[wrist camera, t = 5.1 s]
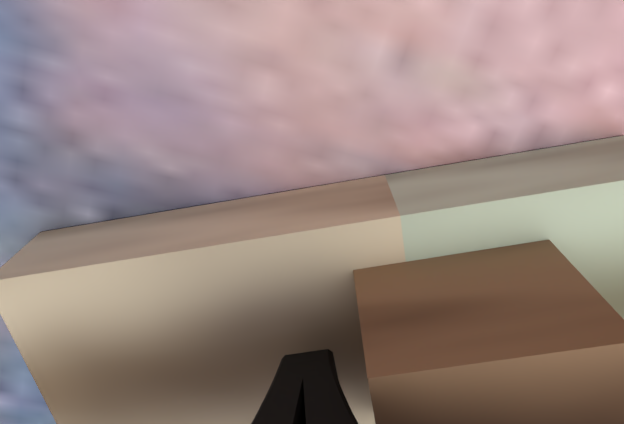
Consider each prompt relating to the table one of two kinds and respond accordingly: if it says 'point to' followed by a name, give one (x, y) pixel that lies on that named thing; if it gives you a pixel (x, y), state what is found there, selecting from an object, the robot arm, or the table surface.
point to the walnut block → (490, 340)
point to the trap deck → (280, 280)
